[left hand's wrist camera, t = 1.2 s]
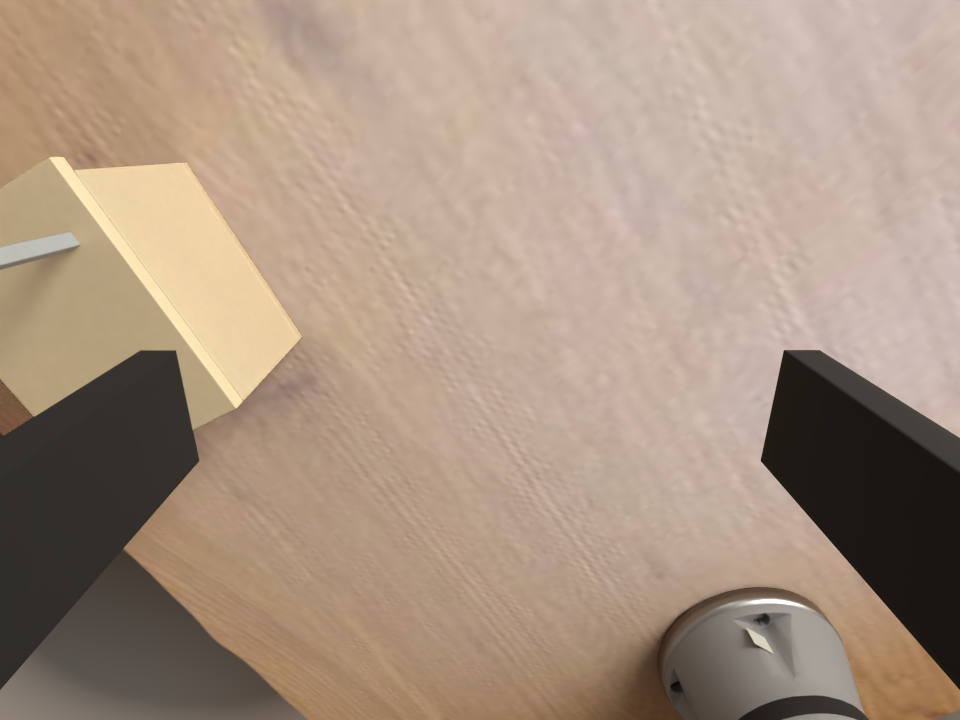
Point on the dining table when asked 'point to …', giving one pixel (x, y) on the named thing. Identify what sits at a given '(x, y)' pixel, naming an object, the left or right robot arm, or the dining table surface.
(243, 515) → the dining table surface
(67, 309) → the lid
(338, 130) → the dining table surface
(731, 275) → the dining table surface
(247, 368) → the chest
